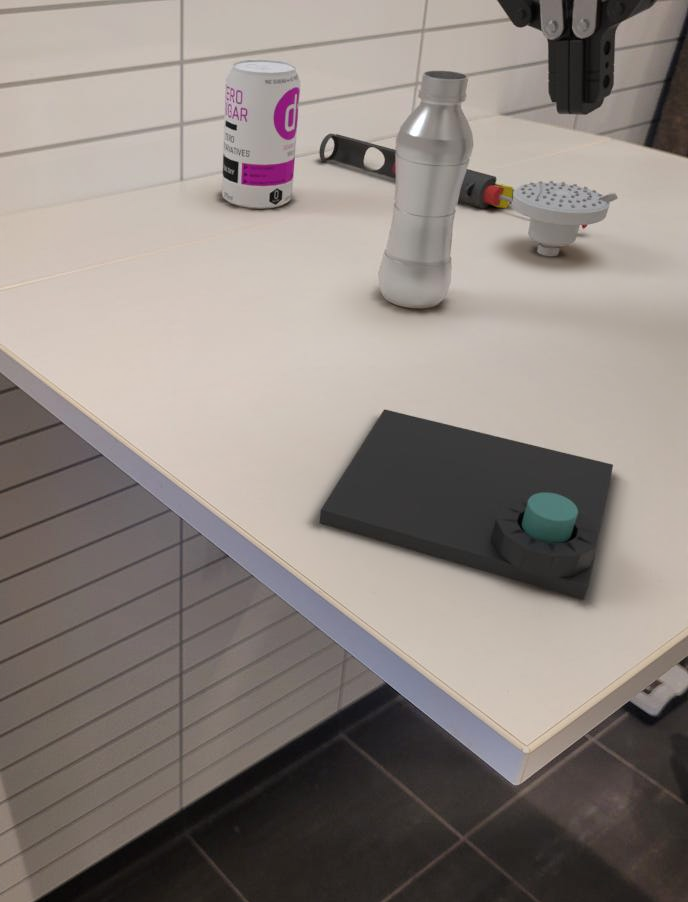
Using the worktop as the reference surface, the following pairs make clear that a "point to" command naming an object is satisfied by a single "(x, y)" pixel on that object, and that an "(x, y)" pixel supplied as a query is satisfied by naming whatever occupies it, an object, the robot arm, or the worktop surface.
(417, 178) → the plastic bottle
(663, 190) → the worktop surface
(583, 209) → the showerhead
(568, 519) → the button
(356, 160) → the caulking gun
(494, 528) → the scale
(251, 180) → the supplement can
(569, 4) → the robot arm
